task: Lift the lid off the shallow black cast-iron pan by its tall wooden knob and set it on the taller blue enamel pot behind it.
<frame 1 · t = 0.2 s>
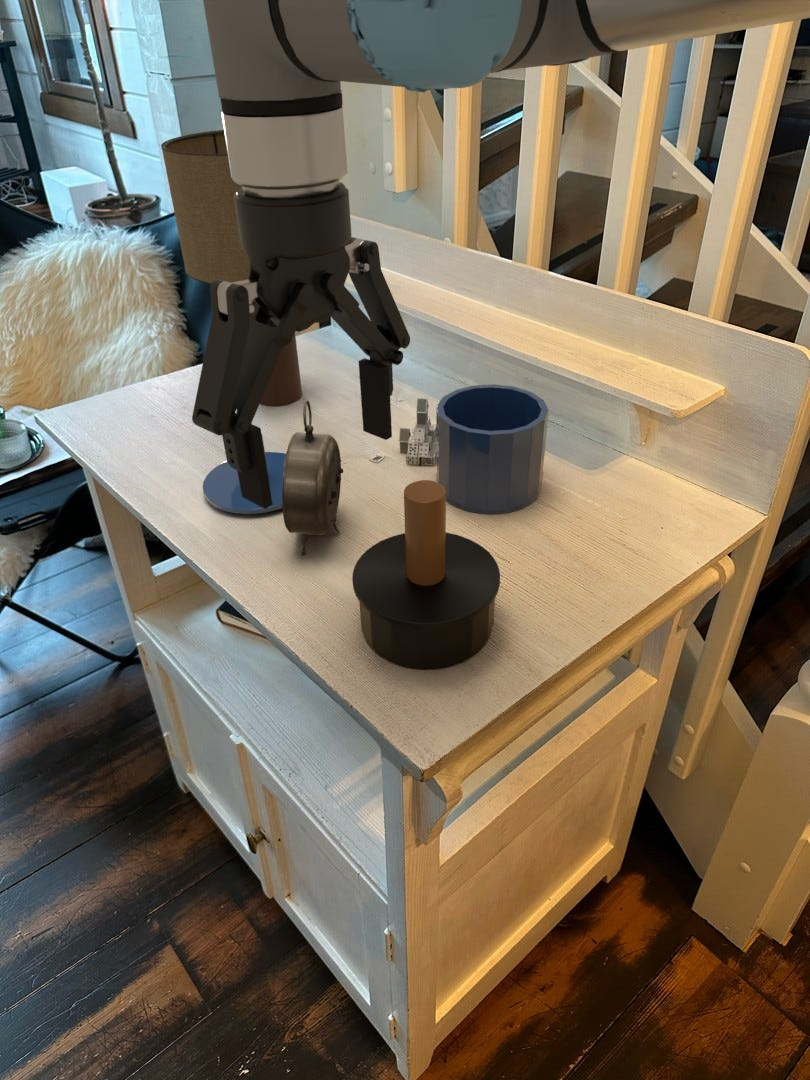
hand: (321, 465, 62), 18 cm above the cabinet top, tool pointing down, fingers open, 13 cm apart
lid: (426, 578, 70), point 5 cm above the cabinet top, touching pan
pot: (488, 485, 93), on the cabinet top
lamp: (279, 397, 116), on the cabinet top
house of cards: (408, 449, 101), on the cabinet top
pot lid: (259, 483, 94), point 1 cm above the cabinet top
alarm clock: (320, 534, 86), on the cabinet top
pan: (426, 622, 73), on the cabinet top
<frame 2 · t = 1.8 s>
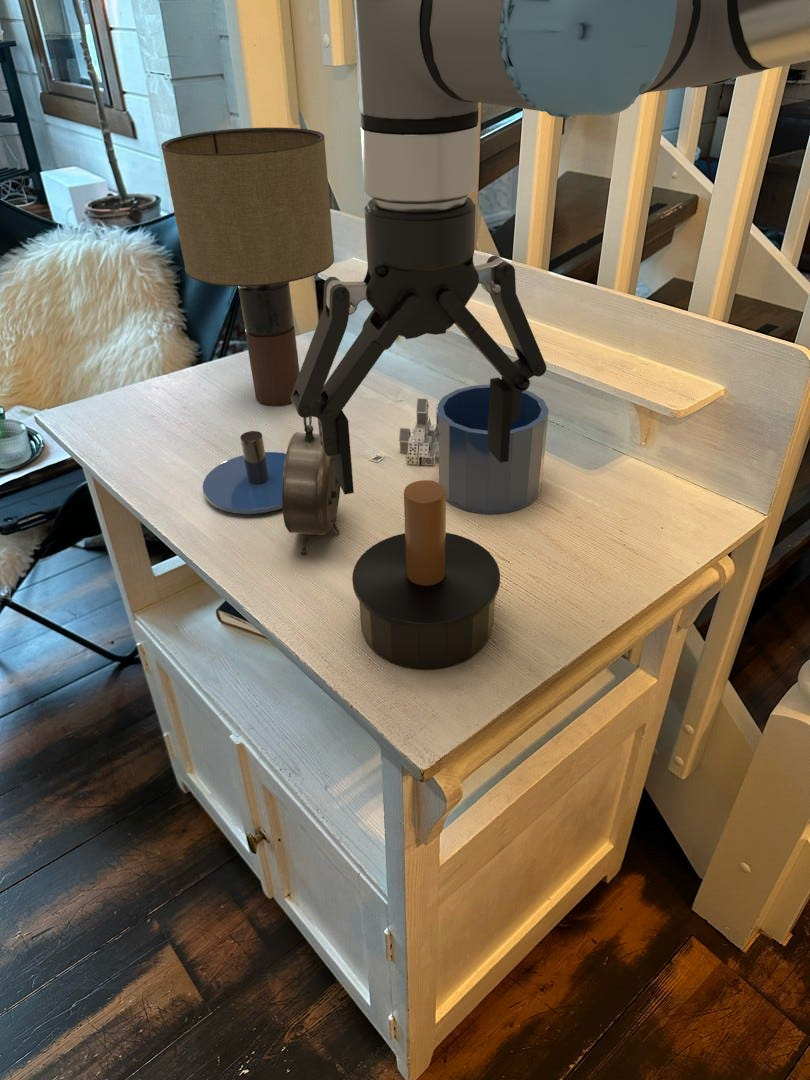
hand: (423, 470, 63), 17 cm above the cabinet top, tool pointing down, fingers open, 13 cm apart
nothing on the cabinet top moved.
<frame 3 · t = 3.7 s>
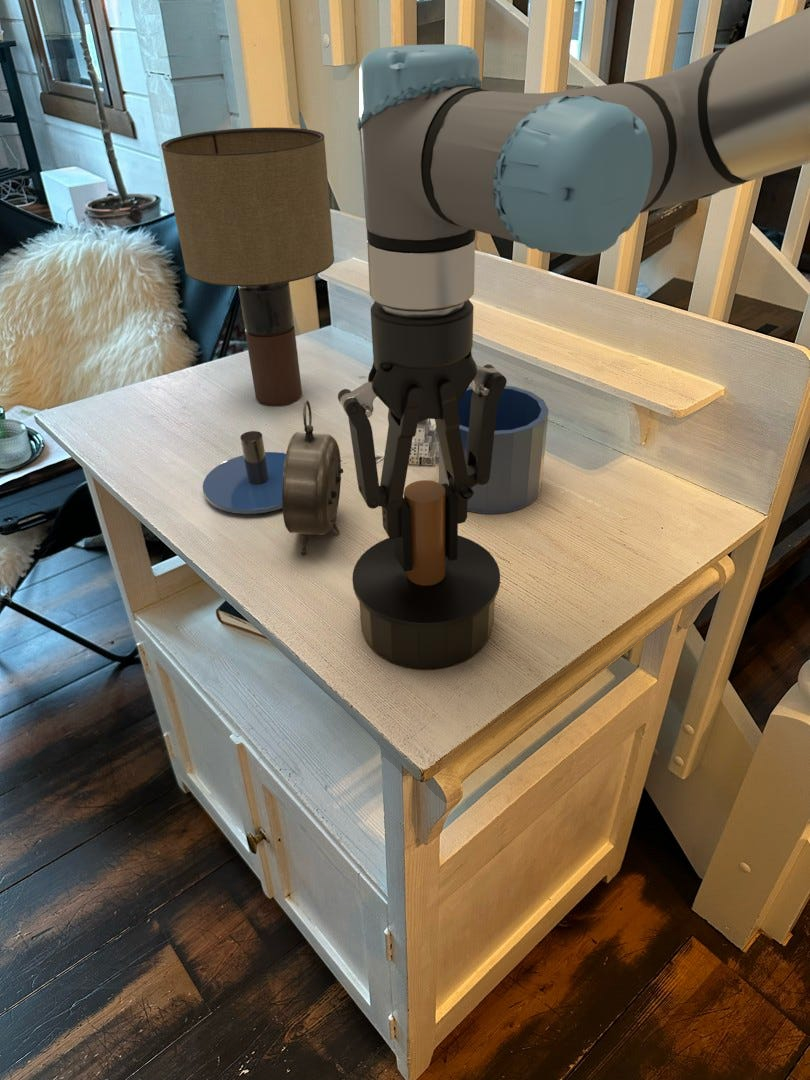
hand: (425, 556, 69), 8 cm above the cabinet top, tool pointing down, fingers closed on lid, 4 cm apart
lid: (426, 578, 70), point 6 cm above the cabinet top, touching gripper, pan
everything else where it was.
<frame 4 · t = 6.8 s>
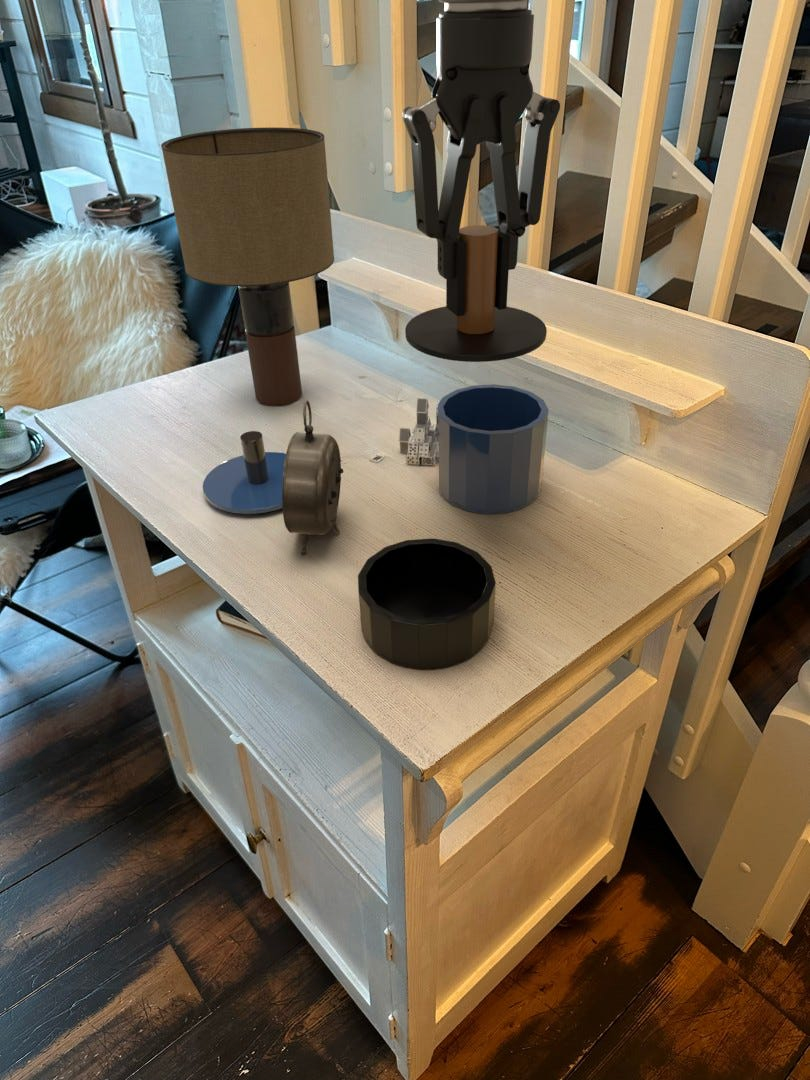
hand: (476, 307, 72), 25 cm above the cabinet top, tool pointing down, fingers closed on lid, 4 cm apart
lid: (475, 333, 74), point 22 cm above the cabinet top, touching gripper
everything else where it was.
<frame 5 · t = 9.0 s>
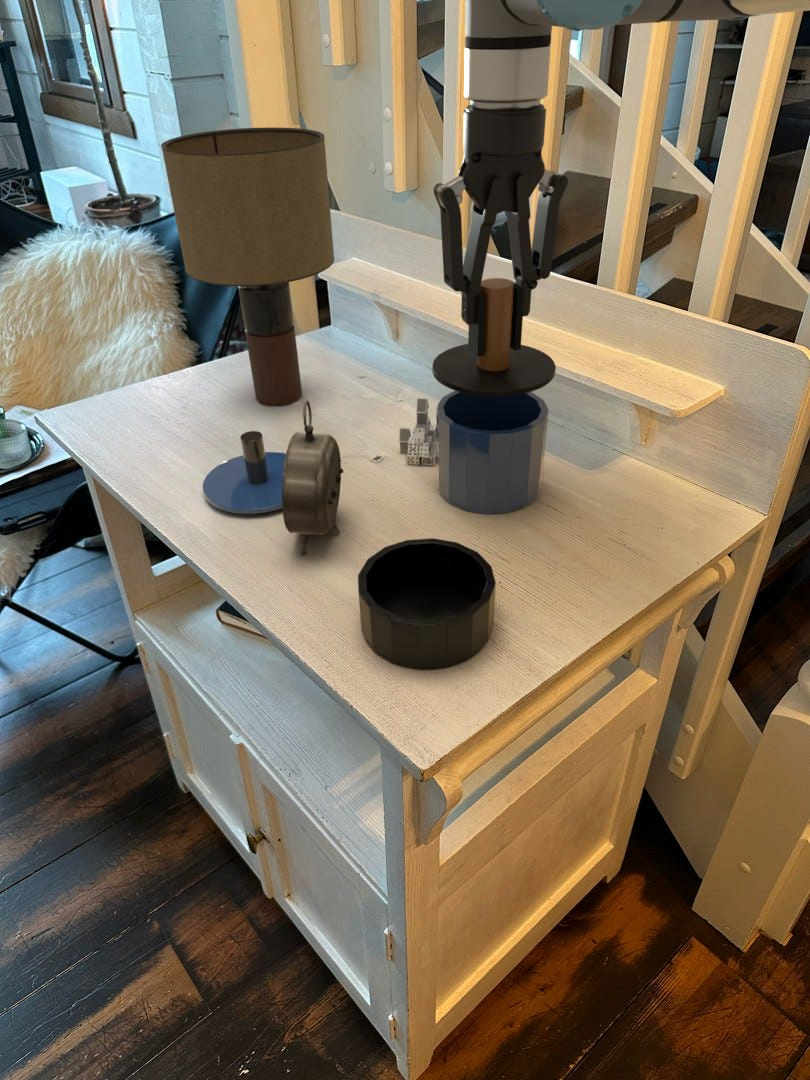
hand: (494, 347, 83), 18 cm above the cabinet top, tool pointing down, fingers closed on lid, 4 cm apart
lid: (493, 369, 84), point 15 cm above the cabinet top, touching gripper
everything else where it was.
when the fingers open (13 cm above the cabinet top, at t = 10.3 s): lid stays where it is, resting on pot.
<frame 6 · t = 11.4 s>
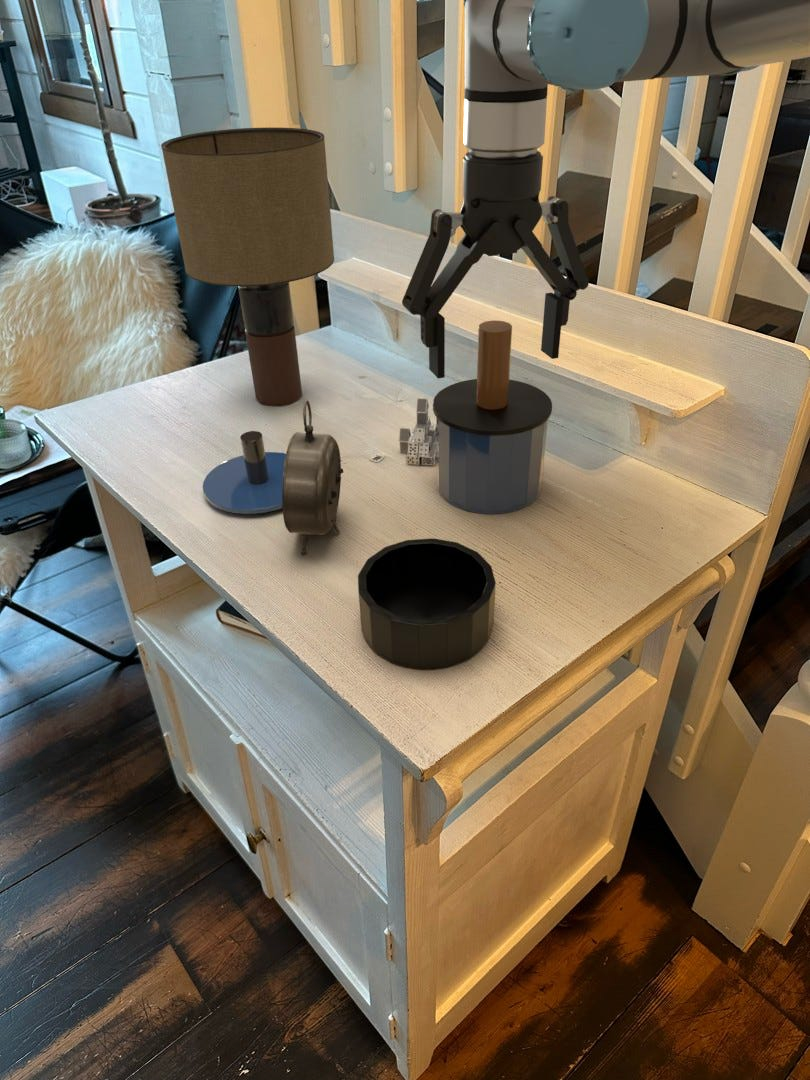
hand: (494, 363, 84), 16 cm above the cabinet top, tool pointing down, fingers open, 13 cm apart
lid: (491, 407, 87), point 10 cm above the cabinet top, touching pot
everything else where it was.
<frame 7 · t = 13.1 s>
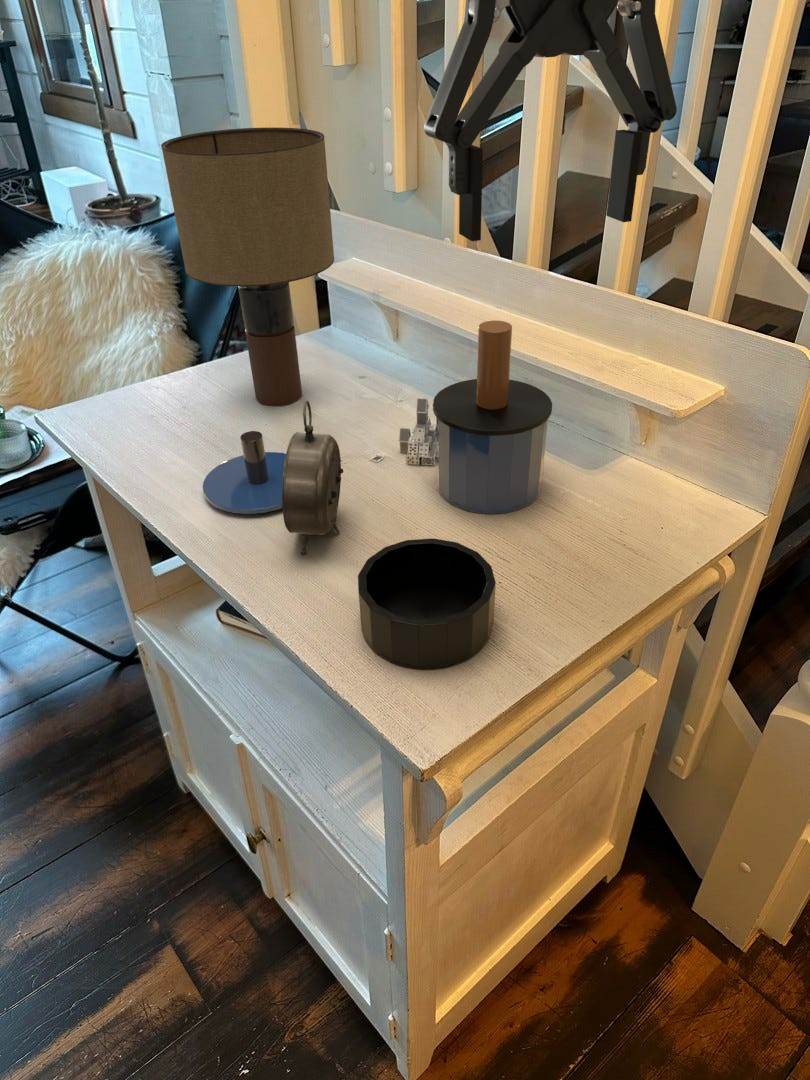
hand: (546, 228, 62), 33 cm above the cabinet top, tool pointing down, fingers open, 13 cm apart
nothing on the cabinet top moved.
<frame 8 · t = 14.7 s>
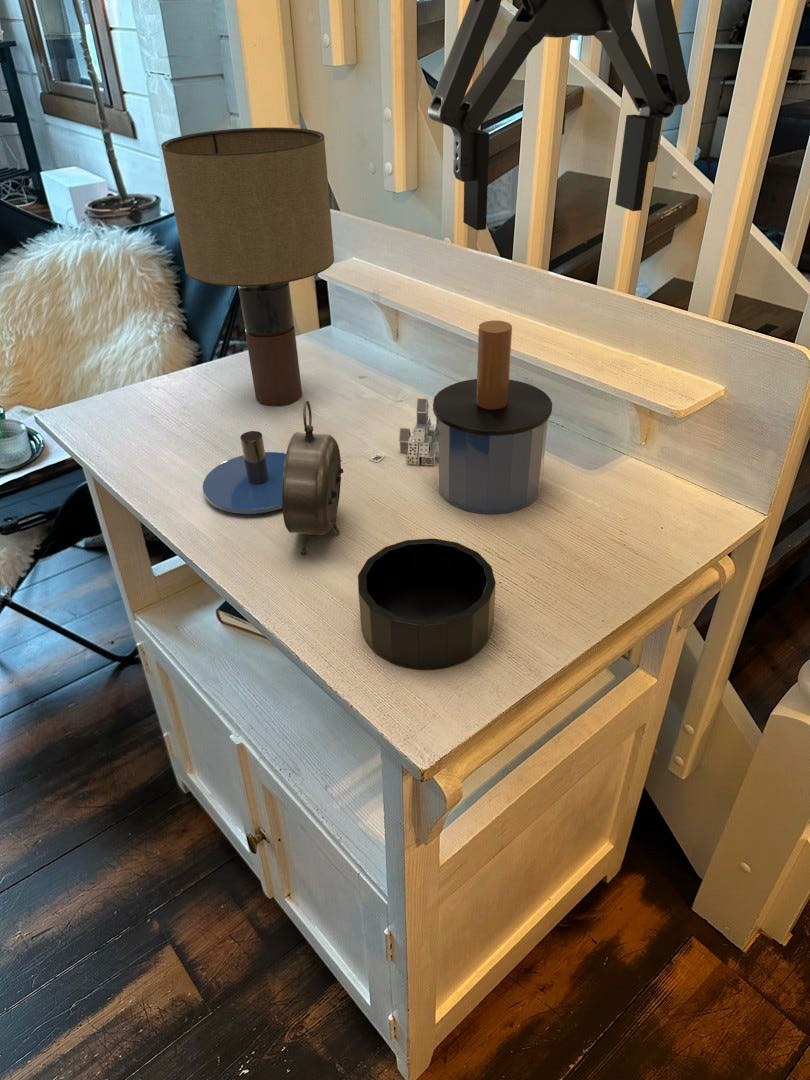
hand: (553, 217, 60), 35 cm above the cabinet top, tool pointing down, fingers open, 13 cm apart
nothing on the cabinet top moved.
at the end: lid 0.1 cm off-centre on the pot, point 10.5 cm above the pot's base; lid tilted 0°; the gripper is holding nothing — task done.
